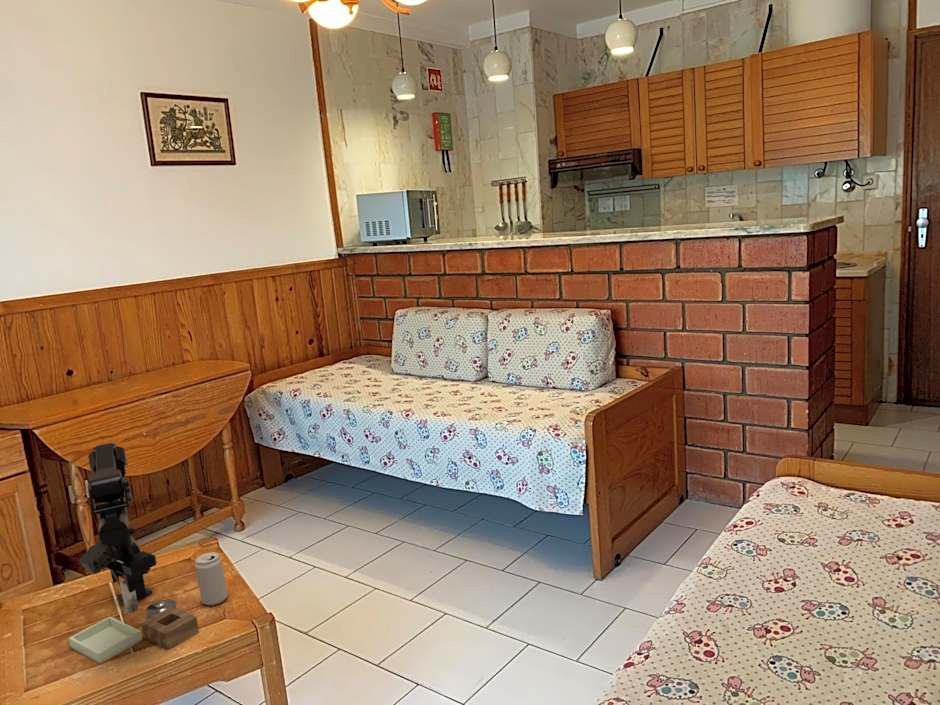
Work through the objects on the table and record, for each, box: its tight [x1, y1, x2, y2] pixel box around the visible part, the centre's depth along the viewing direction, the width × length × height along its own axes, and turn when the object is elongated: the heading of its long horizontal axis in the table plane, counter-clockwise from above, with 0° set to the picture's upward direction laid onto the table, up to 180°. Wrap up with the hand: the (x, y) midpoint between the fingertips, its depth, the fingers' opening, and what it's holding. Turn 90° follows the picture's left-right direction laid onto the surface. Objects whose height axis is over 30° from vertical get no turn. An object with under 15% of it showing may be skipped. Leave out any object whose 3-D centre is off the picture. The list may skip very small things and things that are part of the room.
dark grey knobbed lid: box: [145, 598, 178, 620], centre depth 185 cm, size 7×7×3 cm
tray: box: [68, 616, 143, 665], centre depth 175 cm, size 13×10×2 cm
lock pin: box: [118, 574, 139, 614], centre depth 173 cm, size 3×3×9 cm
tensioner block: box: [141, 606, 200, 650], centre depth 176 cm, size 10×8×4 cm
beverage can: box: [194, 551, 228, 606], centre depth 189 cm, size 6×6×12 cm
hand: (128, 590), depth 173 cm, fingers closed on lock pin, 3 cm apart
